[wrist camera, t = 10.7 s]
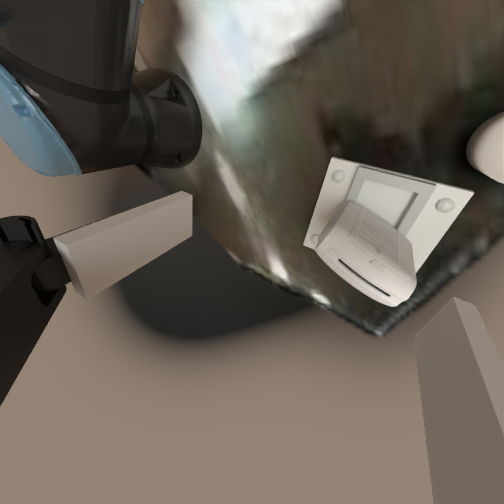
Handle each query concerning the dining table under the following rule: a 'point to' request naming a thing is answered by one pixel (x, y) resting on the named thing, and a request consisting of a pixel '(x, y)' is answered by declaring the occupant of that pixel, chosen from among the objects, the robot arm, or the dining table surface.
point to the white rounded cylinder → (488, 148)
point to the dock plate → (390, 203)
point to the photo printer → (368, 254)
